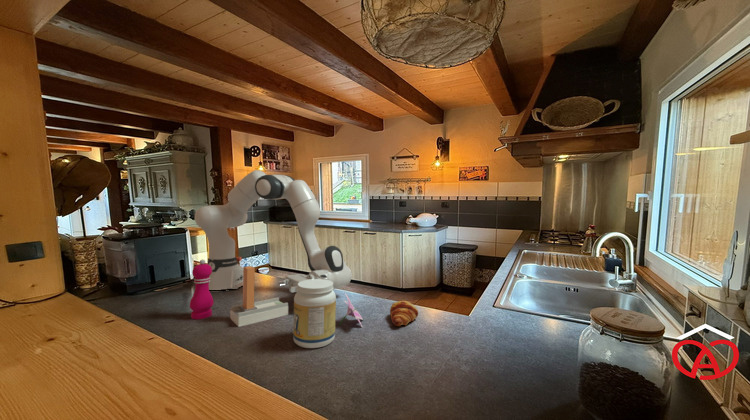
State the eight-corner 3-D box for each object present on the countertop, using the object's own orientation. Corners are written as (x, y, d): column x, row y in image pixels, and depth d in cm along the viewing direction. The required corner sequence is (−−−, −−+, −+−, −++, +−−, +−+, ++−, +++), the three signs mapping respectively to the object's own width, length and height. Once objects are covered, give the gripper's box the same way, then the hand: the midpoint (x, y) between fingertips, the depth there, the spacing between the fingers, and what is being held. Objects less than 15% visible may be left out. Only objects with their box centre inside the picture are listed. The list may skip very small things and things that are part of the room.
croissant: (401, 316, 115) (392, 297, 116) (424, 307, 113) (415, 288, 114) (389, 338, 95) (378, 315, 96) (416, 327, 92) (405, 304, 94)
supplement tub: (290, 334, 89) (291, 279, 89) (329, 328, 94) (330, 276, 94) (296, 353, 78) (297, 290, 78) (339, 345, 83) (341, 286, 82)
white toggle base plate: (277, 307, 112) (277, 297, 112) (288, 314, 105) (288, 303, 105) (230, 318, 100) (230, 306, 100) (238, 326, 94) (238, 314, 94)
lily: (351, 338, 90) (366, 310, 91) (322, 317, 94) (337, 291, 95) (363, 335, 101) (376, 310, 102) (336, 316, 105) (350, 292, 106)
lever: (251, 306, 104) (251, 265, 103) (257, 310, 99) (258, 268, 99) (239, 308, 101) (240, 266, 101) (245, 313, 96) (245, 269, 96)
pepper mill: (194, 321, 97) (195, 262, 97) (185, 316, 101) (186, 259, 101) (217, 315, 103) (217, 259, 102) (207, 311, 107) (208, 257, 107)
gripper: (304, 269, 126) (273, 273, 116) (330, 278, 111) (297, 284, 101) (304, 283, 126) (273, 289, 117) (330, 295, 111) (296, 302, 101)
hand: (284, 287), depth 109 cm, fingers open, 8 cm apart
